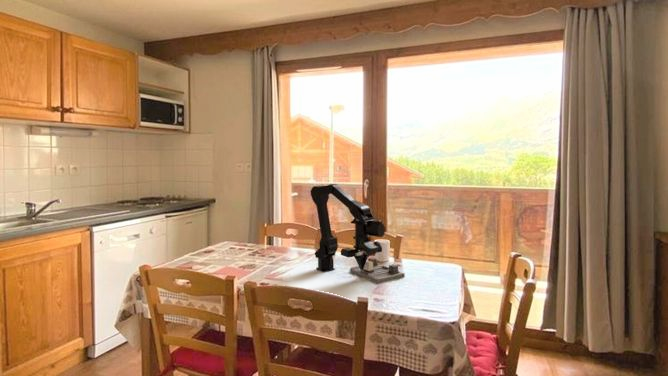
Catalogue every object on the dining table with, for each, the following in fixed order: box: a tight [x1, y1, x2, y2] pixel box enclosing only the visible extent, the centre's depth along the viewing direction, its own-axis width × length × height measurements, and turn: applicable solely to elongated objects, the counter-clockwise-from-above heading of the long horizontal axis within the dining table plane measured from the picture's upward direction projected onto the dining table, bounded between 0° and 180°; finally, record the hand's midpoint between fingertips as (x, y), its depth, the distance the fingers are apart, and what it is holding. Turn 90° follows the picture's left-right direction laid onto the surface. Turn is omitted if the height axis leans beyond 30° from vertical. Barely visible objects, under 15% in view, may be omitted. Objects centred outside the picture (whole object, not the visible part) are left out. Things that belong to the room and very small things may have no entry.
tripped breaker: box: [363, 260, 374, 274], centre depth 178 cm, size 3×4×5 cm
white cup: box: [373, 238, 391, 263], centre depth 205 cm, size 8×8×10 cm
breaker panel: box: [349, 257, 405, 284], centre depth 180 cm, size 15×20×5 cm
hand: (361, 269), depth 175 cm, fingers closed
